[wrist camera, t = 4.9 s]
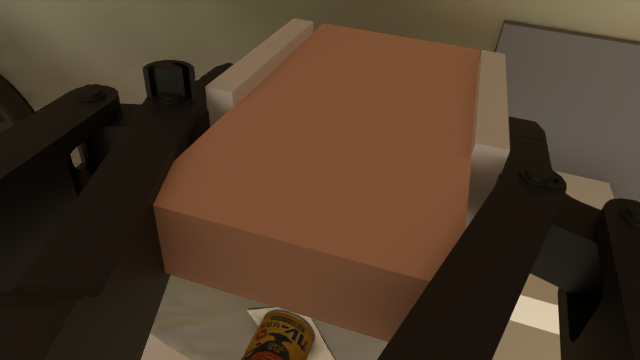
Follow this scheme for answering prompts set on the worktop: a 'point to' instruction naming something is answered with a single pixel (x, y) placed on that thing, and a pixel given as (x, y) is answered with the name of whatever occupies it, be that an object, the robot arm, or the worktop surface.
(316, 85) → the domino
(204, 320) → the worktop surface
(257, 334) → the condiment
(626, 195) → the mat
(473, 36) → the worktop surface
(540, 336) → the domino
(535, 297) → the domino
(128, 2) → the worktop surface
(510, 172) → the robot arm
